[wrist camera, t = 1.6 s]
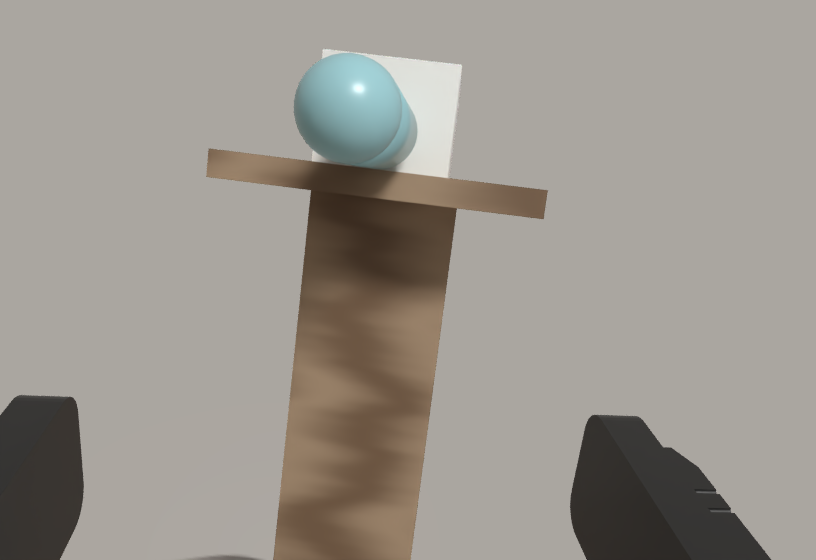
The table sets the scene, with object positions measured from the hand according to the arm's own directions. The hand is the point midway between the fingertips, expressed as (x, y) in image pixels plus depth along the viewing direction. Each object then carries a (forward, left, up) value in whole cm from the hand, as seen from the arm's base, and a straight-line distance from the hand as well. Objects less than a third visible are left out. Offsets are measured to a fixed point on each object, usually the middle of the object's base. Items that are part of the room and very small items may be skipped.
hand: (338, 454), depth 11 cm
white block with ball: (-1, +17, +5) cm, 18 cm away
